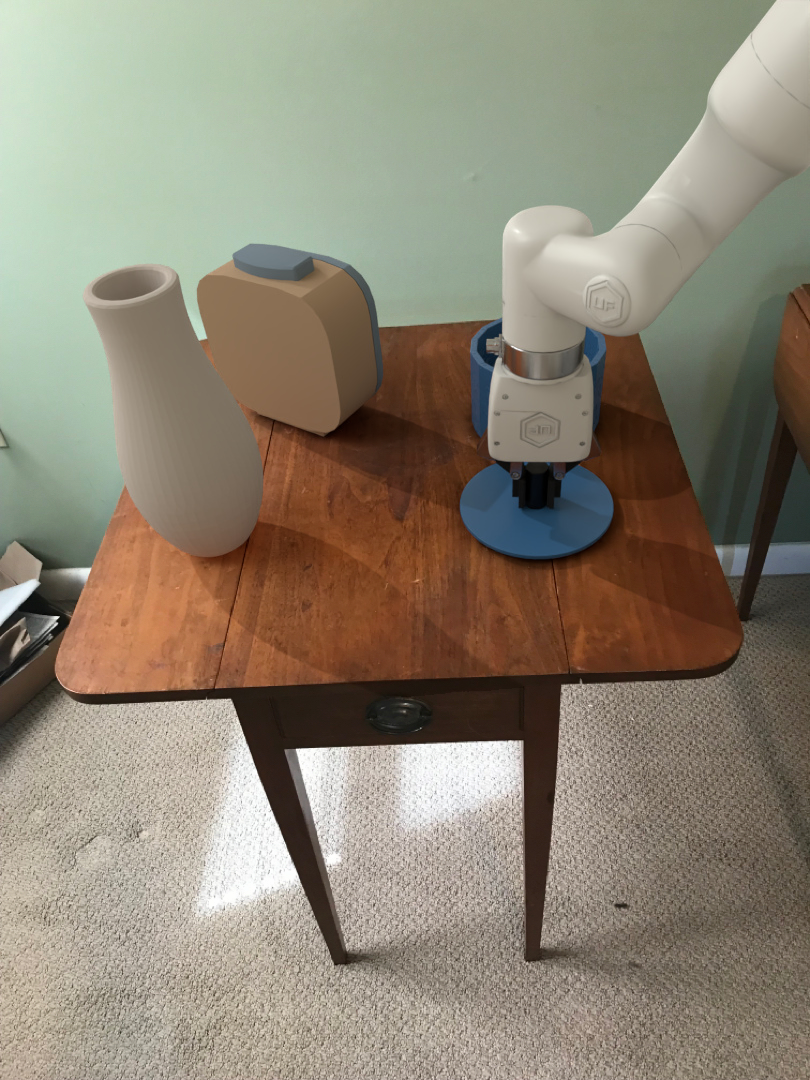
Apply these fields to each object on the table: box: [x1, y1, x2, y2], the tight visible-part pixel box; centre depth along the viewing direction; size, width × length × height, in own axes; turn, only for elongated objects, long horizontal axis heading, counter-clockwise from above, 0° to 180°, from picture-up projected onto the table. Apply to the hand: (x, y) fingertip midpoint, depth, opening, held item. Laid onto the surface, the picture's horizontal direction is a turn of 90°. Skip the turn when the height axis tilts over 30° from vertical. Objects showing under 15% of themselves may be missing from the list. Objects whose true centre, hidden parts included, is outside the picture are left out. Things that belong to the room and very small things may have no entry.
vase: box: [82, 263, 264, 558], centre depth 76 cm, size 14×14×30 cm
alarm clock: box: [196, 243, 384, 437], centre depth 96 cm, size 21×10×22 cm, turn 57°
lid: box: [459, 462, 615, 560], centre depth 83 cm, size 17×17×6 cm
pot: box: [469, 317, 607, 443], centre depth 94 cm, size 16×16×10 cm
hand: (535, 499), depth 84 cm, fingers closed on lid, 2 cm apart
